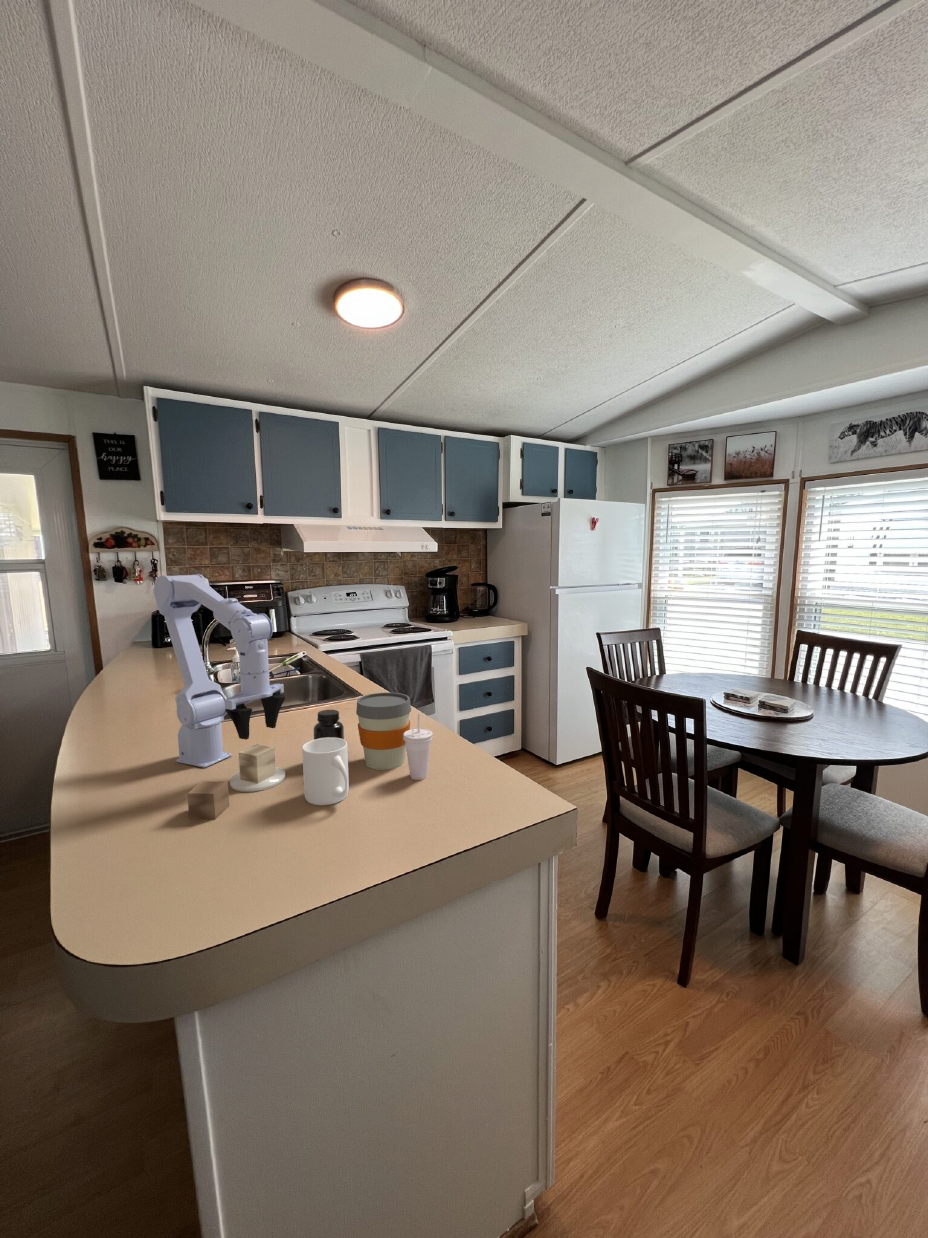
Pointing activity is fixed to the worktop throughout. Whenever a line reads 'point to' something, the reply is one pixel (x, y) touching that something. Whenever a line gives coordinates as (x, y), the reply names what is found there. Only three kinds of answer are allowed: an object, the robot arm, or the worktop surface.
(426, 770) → the smoothie
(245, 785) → the coaster
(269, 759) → the beech block
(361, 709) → the reusable coffee cup
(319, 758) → the mug
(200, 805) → the walnut block
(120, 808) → the worktop surface
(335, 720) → the supplement bottle
